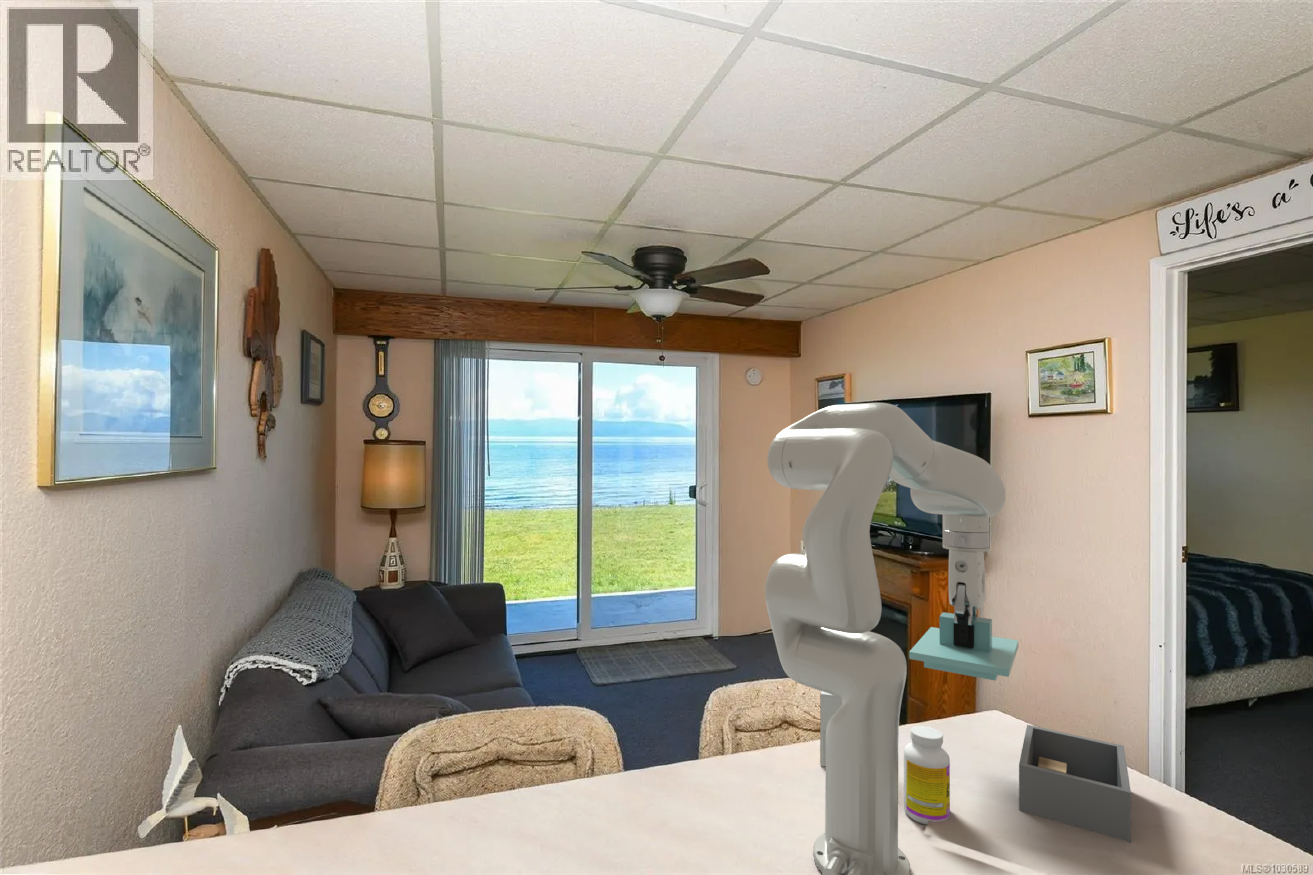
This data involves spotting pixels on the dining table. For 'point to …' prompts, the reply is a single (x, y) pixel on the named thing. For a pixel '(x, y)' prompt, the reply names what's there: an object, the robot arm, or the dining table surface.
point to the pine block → (1052, 765)
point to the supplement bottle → (926, 776)
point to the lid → (966, 650)
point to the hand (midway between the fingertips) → (965, 642)
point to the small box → (826, 719)
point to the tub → (1076, 782)
